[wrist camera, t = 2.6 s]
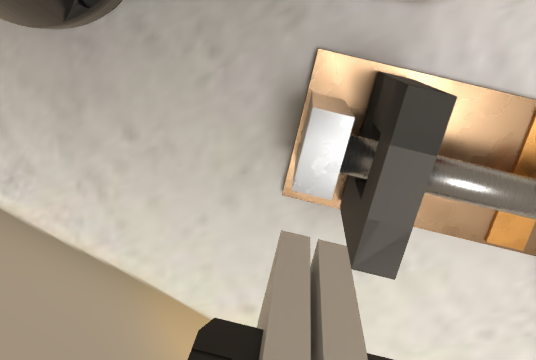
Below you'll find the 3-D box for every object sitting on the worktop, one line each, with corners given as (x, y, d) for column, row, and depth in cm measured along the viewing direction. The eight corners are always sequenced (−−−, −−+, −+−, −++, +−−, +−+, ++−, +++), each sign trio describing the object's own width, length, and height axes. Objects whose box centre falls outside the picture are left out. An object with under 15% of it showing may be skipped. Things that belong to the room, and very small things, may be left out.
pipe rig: (282, 190, 37) (275, 235, 29) (318, 48, 34) (321, 51, 26) (572, 260, 37) (649, 325, 29) (635, 123, 34) (743, 151, 26)
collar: (339, 206, 35) (351, 269, 26) (379, 71, 32) (408, 84, 23) (371, 214, 35) (394, 279, 26) (413, 79, 32) (457, 96, 23)
